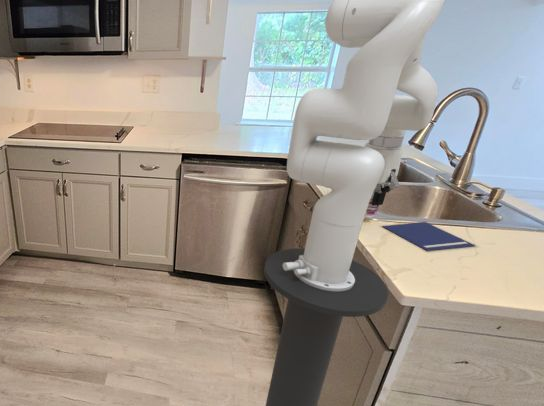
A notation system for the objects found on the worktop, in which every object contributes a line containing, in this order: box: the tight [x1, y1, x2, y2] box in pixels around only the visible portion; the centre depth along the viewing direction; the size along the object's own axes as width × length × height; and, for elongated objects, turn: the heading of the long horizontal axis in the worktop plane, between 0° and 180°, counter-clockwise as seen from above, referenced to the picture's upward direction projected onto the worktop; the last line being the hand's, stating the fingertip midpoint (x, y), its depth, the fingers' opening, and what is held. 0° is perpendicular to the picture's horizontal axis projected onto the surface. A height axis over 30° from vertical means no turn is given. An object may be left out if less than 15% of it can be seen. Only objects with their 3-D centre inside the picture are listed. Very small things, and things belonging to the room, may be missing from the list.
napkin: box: [382, 221, 476, 252], centre depth 101 cm, size 14×14×1 cm
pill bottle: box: [364, 186, 380, 219], centre depth 109 cm, size 5×5×10 cm
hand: (368, 200), depth 109 cm, fingers closed on pill bottle, 5 cm apart
